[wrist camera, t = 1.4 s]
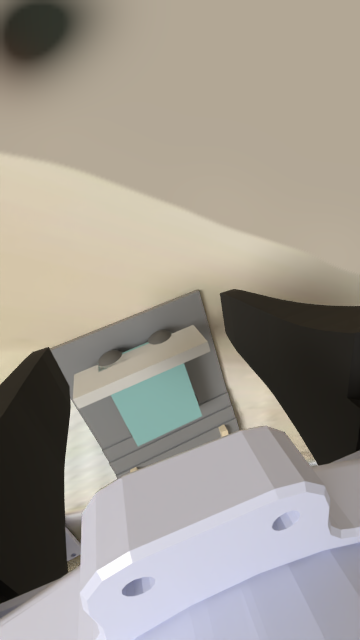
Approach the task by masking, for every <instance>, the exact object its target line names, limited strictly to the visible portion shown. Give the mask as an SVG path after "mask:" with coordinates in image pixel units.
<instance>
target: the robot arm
mask: <svg viewBox="0 0 360 640" xmlns="http://www.w3.org/2000/svg"><path fill="white" fill-rule="evenodd" d="M220 297H221V304H222V311H223V318H224V324H225V331H226V335H227V336H228V338H229V339H230V341H231V343H232V344H233V346H234V347H235V349H236V350H237V352H238V353H239V354H240V355H241V356H242V358H243V359H244V360H245V361H246V362H247V363H248V365H249V366H250V367H251V368H252V369H253V370H254V371H255V373H256V374H257V375H258V376H259V377H260V378H261V380H262V381H263V382H264V383H265V384H266V385H267V387H268V388H269V389H270V391H271V392H272V393H273V395H274V396H275V397H276V399H277V400H278V402H279V403H280V405H281V406H282V408H283V409H284V411H285V412H286V414H287V415H288V417H289V418H290V420H291V421H292V423H293V425H294V426H295V428H296V429H297V431H298V432H299V434H300V436H301V437H302V439H303V440H304V442H305V444H306V445H307V447H308V449H309V450H310V452H311V454H312V455H313V457H314V459H315V460H316V462H317V464H318V465H319V466H313V467H310V465H309V464H308V463H307V461H306V460H305V459H304V457H303V456H302V455H301V453H300V452H299V451H298V449H297V448H296V447H295V445H294V444H293V443H292V441H291V440H290V439H289V437H288V436H287V435H286V433H285V432H283V431H280V430H277V429H274V428H271V427H268V426H259V427H254V428H249V429H244V430H239V431H236V432H234V433H231V434H228V435H226V436H223V437H221V438H218V439H216V440H213V441H210V442H208V443H205V444H203V445H200V446H198V447H195V448H192V449H190V450H187V451H185V452H182V453H180V454H177V455H174V456H172V457H169V458H167V459H164V460H162V461H159V462H156V463H154V464H151V465H149V466H146V467H144V468H141V469H138V470H136V471H133V472H131V473H128V474H126V475H123V476H121V477H120V478H118V479H116V480H115V481H113V482H111V483H110V484H108V485H106V486H105V487H103V488H101V489H100V490H99V491H97V492H96V493H95V495H94V496H93V498H92V499H91V500H90V502H89V503H88V505H87V506H86V508H85V509H84V511H83V512H82V526H81V544H80V543H79V541H78V540H77V539H76V538H75V537H74V536H73V535H72V533H71V532H70V531H69V530H68V529H67V528H66V527H65V505H64V466H65V454H66V445H67V436H68V428H69V418H70V408H71V407H70V386H69V384H68V382H67V380H66V378H65V377H64V375H63V373H62V371H61V369H60V367H59V365H58V363H57V361H56V360H55V358H54V356H53V354H52V352H51V350H50V348H49V347H48V348H44V349H41V350H38V351H35V352H33V353H31V354H30V355H29V356H28V357H27V358H26V359H25V360H24V361H23V362H22V363H21V364H20V365H19V366H18V367H17V368H16V369H15V370H14V371H13V372H12V373H11V374H10V375H9V376H8V377H7V378H6V379H5V381H4V382H3V383H2V384H1V385H0V640H360V306H326V305H314V304H305V303H297V302H292V301H286V300H281V299H276V298H271V297H267V296H263V295H259V294H255V293H251V292H246V291H242V290H236V289H232V290H229V291H226V292H223V293H220ZM79 555H81V562H80V565H79V566H77V567H76V568H75V569H73V570H72V571H70V572H69V573H68V566H67V561H69V560H71V559H73V558H75V557H77V556H79Z"/></svg>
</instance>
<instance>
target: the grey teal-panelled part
mask: <svg viewBox="0 0 360 640" xmlns="http://www.w3.org/2000/svg"><path fill="white" fill-rule="evenodd" d="M208 352H210V348H209V344H208V341H207V340H206V339H205V338H204V337H203V336H202V334H201V333H200V332H199V331H198V330H197V329H196V327H195V326H194V325H191V326H189V327H187V328H184V329H182V330H179V331H177V332H175V333H172V332H170V331H167V330H159V331H156V332H154V333H153V334H152V335H151V336H150V337H149V339H148V341H147V343H145V344H142V345H140V346H138V347H135V348H133V349H130V350H128V351H126V352H121V351H118V350H111V351H108V352H106V353H104V354H103V355H102V356H101V357H100V358H99V360H98V363H97V365H96V366H93V367H91V368H89V369H86V370H84V371H81V372H79V373H77V374H74V386H73V401H74V403H75V404H76V406H77V407H78V409H80V408H82V407H85V406H87V405H89V404H91V403H94V402H96V401H98V400H101V399H103V398H105V397H107V396H110V395H111V397H112V399H113V401H114V403H115V404H116V406H117V408H118V410H119V412H120V414H121V416H122V418H123V420H124V421H125V423H126V425H127V427H128V431H129V433H130V435H131V436H132V437H133V438H134V440H135V442H136V444H137V446H140V445H142V444H144V443H146V442H149V441H151V440H153V439H155V438H157V437H159V436H161V435H163V434H165V433H168V432H170V431H172V430H174V429H176V428H178V427H180V426H182V425H185V424H187V423H189V422H191V421H193V420H195V419H197V418H199V417H201V416H202V414H201V411H200V408H199V399H198V397H197V396H196V394H195V393H194V391H193V388H192V385H191V382H190V379H189V376H188V374H187V371H186V368H185V365H184V363H185V362H187V361H190V360H192V359H194V358H196V357H199V356H201V355H203V354H206V353H208Z"/></svg>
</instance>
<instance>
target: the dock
mask: <svg viewBox="0 0 360 640" xmlns="http://www.w3.org/2000/svg"><path fill="white" fill-rule="evenodd" d="M191 325H194V326H195V327H196V329H197V330H198V331H199V332H200V333H201V334H202V336H203V337H204V338H205V339H206V340H207V341H208V344H209V348H210V352H208V353H206V354H203V355H201V356H199V357H196V358H194V359H192V360H190V361H187V362H185V363H184V365H185V368H186V371H187V374H188V376H189V379H190V382H191V385H192V388H193V391H194V393H195V394H196V396H197V397H198V399H199V408H200V411H201V414H202V416H201V417H199V418H197V419H195V420H193V421H191V422H189V423H187V424H185V425H182V426H180V427H178V428H176V429H174V430H172V431H170V432H168V433H165V434H163V435H161V436H159V437H157V438H155V439H153V440H151V441H149V442H146V443H144V444H142V445H140V446H137V444H136V442H135V440H134V438H133V437H132V436H131V435H130V433H129V431H128V427H127V425H126V423H125V421H124V420H123V418H122V416H121V414H120V412H119V410H118V408H117V406H116V404H115V403H114V401H113V399H112V397H111V395H110V396H107V397H105V398H103V399H101V400H98V401H96V402H94V403H91V404H89V405H87V406H85V407H82V408H80V409H78V407H77V406H76V404H75V403H74V401H73V386H74V374H77V373H79V372H81V371H84V370H86V369H89V368H91V367H93V366H96V365H97V363H98V360H99V358H100V357H101V356H102V355H103V354H104V353H106V352H108V351H111V350H118V351H121V352H126V351H128V350H130V349H133V348H135V347H138V346H140V345H142V344H145V343H147V341H148V339H149V337H150V336H151V335H152V334H153V333H154V332H156V331H159V330H167V331H170V332H172V333H175V332H177V331H179V330H182V329H184V328H187V327H189V326H191ZM50 350H51V352H52V354H53V356H54V358H55V360H56V361H57V363H58V365H59V367H60V369H61V371H62V373H63V375H64V377H65V378H66V380H67V382H68V384H69V386H70V398H71V400H72V401H73V403H74V405H75V406H76V408H77V409H78V411H79V413H80V414H81V416H82V418H83V419H84V421H85V422H86V424H87V426H88V427H89V429H90V430H91V432H92V434H93V435H94V437H95V438H96V440H97V442H98V443H99V445H100V447H101V448H102V451H103V453H104V455H105V456H106V458H107V459H108V461H109V464H110V466H111V467H112V469H113V471H114V472H115V474H116V477H117V479H118V478H120V477H121V476H123V475H126V474H128V473H131V472H133V471H136V470H138V469H141V468H144V467H146V466H149V465H151V464H154V463H156V462H159V461H162V460H164V459H167V458H169V457H172V456H174V455H177V454H180V453H182V452H185V451H187V450H190V449H192V448H195V447H198V446H200V445H203V444H205V443H208V442H210V441H213V440H216V439H218V438H221V437H223V436H226V435H228V434H231V433H234V432H236V431H239V427H238V423H237V420H236V417H235V414H234V411H233V407H232V405H231V402H230V398H229V395H228V392H227V390H226V386H225V383H224V379H223V375H222V372H221V368H220V365H219V361H218V357H217V354H216V350H215V347H214V343H213V339H212V336H211V332H210V329H209V325H208V321H207V318H206V314H205V310H204V307H203V303H202V300H201V296H200V292H199V291H198V290H195V291H193V292H190V293H188V294H185V295H183V296H180V297H178V298H175V299H173V300H170V301H168V302H165V303H163V304H160V305H158V306H155V307H153V308H150V309H148V310H145V311H143V312H140V313H138V314H135V315H133V316H130V317H128V318H125V319H123V320H120V321H118V322H115V323H113V324H110V325H108V326H105V327H103V328H100V329H98V330H95V331H93V332H90V333H88V334H85V335H83V336H80V337H78V338H75V339H73V340H70V341H68V342H65V343H63V344H60V345H58V346H55V347H53V348H50Z"/></svg>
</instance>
